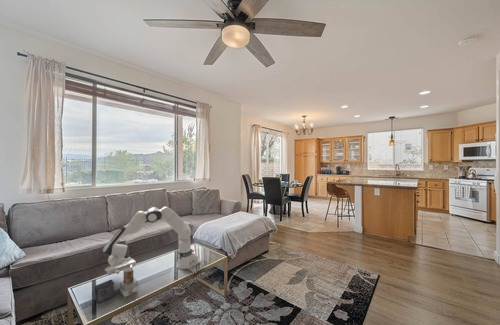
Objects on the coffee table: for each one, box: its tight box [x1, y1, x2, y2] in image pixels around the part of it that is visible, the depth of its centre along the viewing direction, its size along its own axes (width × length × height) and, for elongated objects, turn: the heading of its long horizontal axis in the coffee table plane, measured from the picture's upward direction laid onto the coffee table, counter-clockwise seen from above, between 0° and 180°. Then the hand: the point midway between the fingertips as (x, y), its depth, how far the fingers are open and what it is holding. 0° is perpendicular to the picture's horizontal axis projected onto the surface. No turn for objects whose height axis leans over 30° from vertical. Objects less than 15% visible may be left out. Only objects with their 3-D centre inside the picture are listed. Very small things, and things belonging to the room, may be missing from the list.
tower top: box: [119, 277, 139, 292], centre depth 158 cm, size 9×9×4 cm
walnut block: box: [122, 268, 134, 285], centre depth 157 cm, size 5×5×9 cm
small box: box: [94, 279, 115, 304], centre depth 150 cm, size 11×6×10 cm, turn 141°
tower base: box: [119, 285, 139, 298], centre depth 158 cm, size 9×9×4 cm
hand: (125, 270), depth 162 cm, fingers open, 8 cm apart
